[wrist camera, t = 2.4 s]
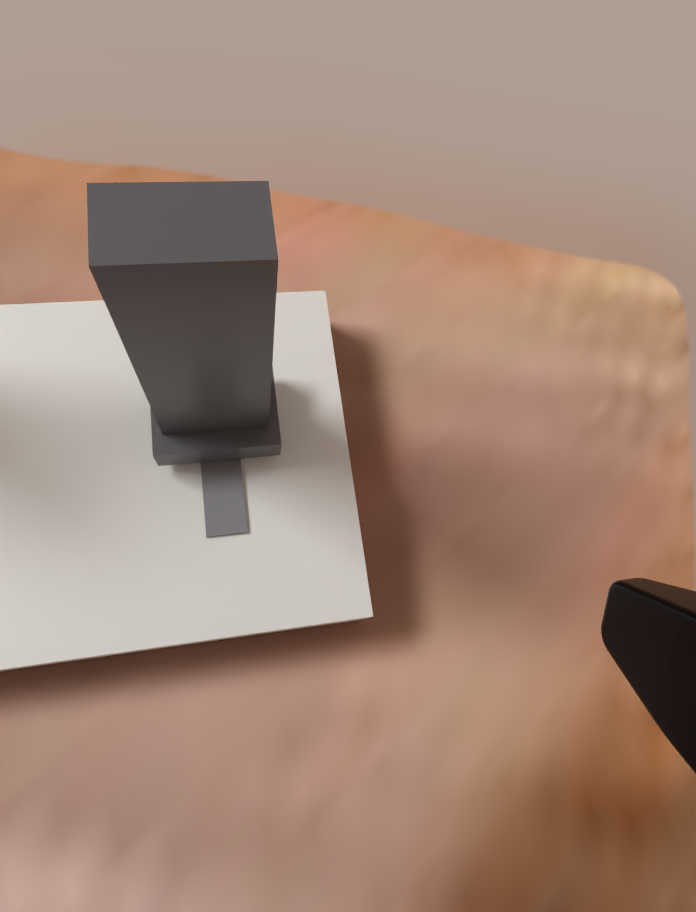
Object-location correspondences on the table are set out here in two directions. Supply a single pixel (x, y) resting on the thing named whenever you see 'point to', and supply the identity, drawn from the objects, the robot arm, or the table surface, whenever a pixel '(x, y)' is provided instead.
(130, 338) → the lever
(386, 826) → the table surface
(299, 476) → the breaker panel
